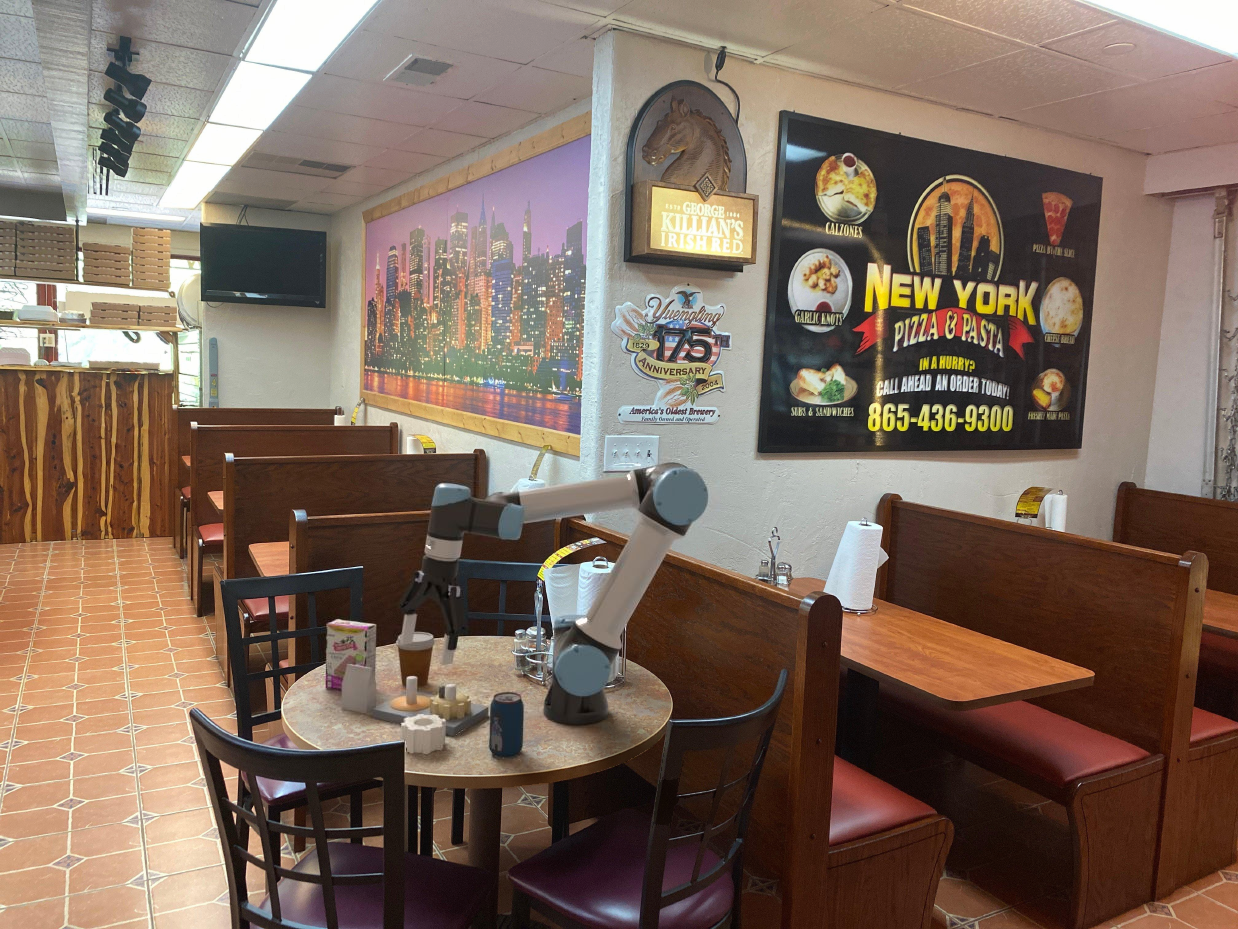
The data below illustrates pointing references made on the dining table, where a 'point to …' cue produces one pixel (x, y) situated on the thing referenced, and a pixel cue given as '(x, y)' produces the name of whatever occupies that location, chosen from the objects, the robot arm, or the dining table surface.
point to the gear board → (432, 707)
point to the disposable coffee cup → (416, 657)
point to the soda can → (506, 725)
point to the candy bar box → (348, 649)
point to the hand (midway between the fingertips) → (425, 653)
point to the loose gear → (423, 733)
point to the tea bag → (358, 689)
